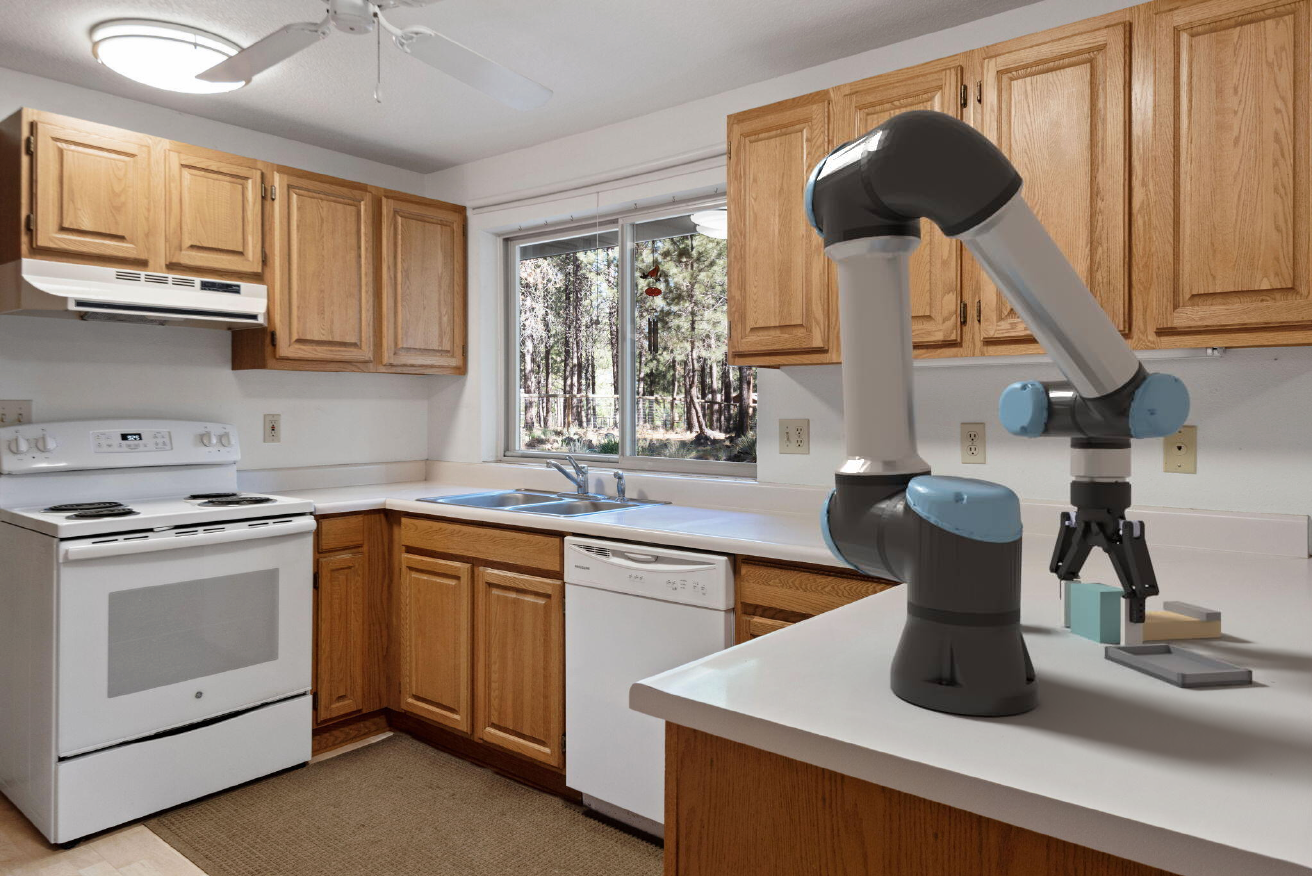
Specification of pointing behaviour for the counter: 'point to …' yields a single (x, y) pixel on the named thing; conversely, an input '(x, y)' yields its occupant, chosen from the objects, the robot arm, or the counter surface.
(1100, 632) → the block
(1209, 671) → the tray
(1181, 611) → the tan notched slab
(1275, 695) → the counter surface
